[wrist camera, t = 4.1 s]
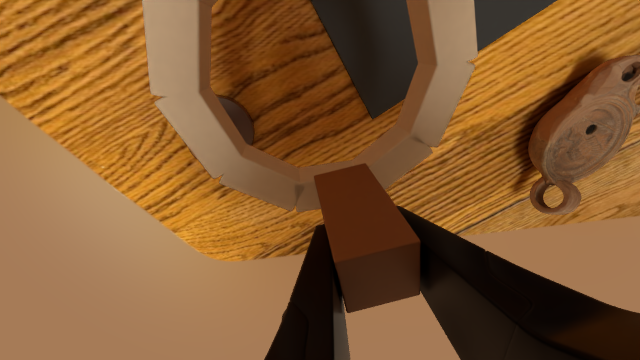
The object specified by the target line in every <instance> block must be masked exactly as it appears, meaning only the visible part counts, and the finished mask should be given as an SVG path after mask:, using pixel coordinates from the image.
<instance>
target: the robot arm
mask: <svg viewBox="0 0 640 360" xmlns="http://www.w3.org/2000/svg"><path fill="white" fill-rule="evenodd" d="M396 207H397V208H398V210H399V211H400V213H401V214H402V215H403V217H404V218H405V220H406V221H407V223H408V224H409V225H410V227H411V228H412V230H413V231H414V232H415V234H416V235H417V237H418V238H419V240H420V291H421V293H422V294H423V296H424V298H425V299H426V301H427V303H428V304H429V306H430V308H431V310H432V311H433V313H434V315H435V317H436V318H437V320H438V322H439V323H440V325H441V327H442V329H443V330H444V332H445V334H446V335H447V337H448V339H449V340H450V342H451V344H452V346H453V347H454V349H455V351H456V352H457V354H458V356H459V358H460V359H461V360H640V313H636V312H632V311H628V310H624V309H621V308H618V307H615V306H612V305H609V304H606V303H604V302H601V301H598V300H596V299H594V298H592V297H589V296H587V295H584V294H582V293H580V292H577V291H575V290H573V289H570V288H568V287H565V286H563V285H561V284H559V283H556V282H554V281H551V280H549V279H547V278H544V277H542V276H540V275H537V274H535V273H533V272H531V271H528V270H526V269H524V268H522V267H520V266H517V265H515V264H513V263H511V262H509V261H507V260H505V259H503V258H501V257H499V256H497V255H495V254H493V253H491V252H489V251H485V249H483V248H481V247H479V246H477V245H475V244H473V243H471V242H469V241H467V240H465V239H463V238H461V237H459V236H457V235H455V234H453V233H451V232H450V231H448V230H446V229H444V228H442V227H440V226H438V225H436V224H434V223H432V222H430V221H428V220H426V219H424V218H422V217H420V216H418V215H416V214H414V213H412V212H410V211H408V210H406V209H404V208H402V207H400V206H396ZM264 360H350V353H349V345H348V338H347V329H346V320H345V313H344V304H343V296H342V292H341V288H340V284H339V280H338V276H337V272H336V268H335V264H334V260H333V256H332V252H331V248H330V244H329V239H328V235H327V231H326V227H325V224H322V225H318V226H316V228H315V230H314V233H313V236H312V239H311V241H310V244H309V247H308V250H307V253H306V256H305V258H304V261H303V264H302V267H301V270H300V272H299V275H298V278H297V281H296V284H295V286H294V289H293V292H292V295H291V298H290V302H289V303H288V306H287V309H286V311H285V314H284V317H283V319H282V322H281V324H280V327H279V330H278V332H277V334H276V336H275V338H274V340H273V342H272V345H271V347H270V349H269V351H268V353H267V355H266V357H265V359H264Z"/></svg>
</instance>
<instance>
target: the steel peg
mask: <svg viewBox="0 0 640 360" xmlns="http://www.w3.org/2000/svg"><path fill="white" fill-rule="evenodd" d="M216 97H217V98H218V100H219V101H220V103H221V105H222V106H223V108H224V109H225V111H226V112H227V114H228V116H229V117H230V119H231V120H232V122H233V123H234V125H235V127H236V128H237V130H238V131H239V133H240V134H241V136H242V138H243V139H244V141H245V142H246V144H248V145H250V146H251V145H252V142H253V138H254V125H253V122H252V119H251V117H250V115H249V114H248V112H247V111H246V110H245V108H244V107H243V106H242V105H240V104H239V103H238V102H236V101H235V100H233V99H231V98H229V97H226V96H222V95H216ZM188 148H189V147H188ZM189 150H190V148H189ZM190 152H191V154H192V155H193V156H194V157H195V158H196V159H197V157H196V156H195V155H194V154H193V152H192V151H191V150H190Z"/></svg>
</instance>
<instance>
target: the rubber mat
mask: <svg viewBox="0 0 640 360" xmlns="http://www.w3.org/2000/svg"><path fill="white" fill-rule="evenodd" d="M555 1H557V0H474V8H475V22H476V37H477V51H479V50H481V49H483V48H484V47H486V46H487V45H489V44H490V43H492V42H493V41H495V40H497V39H498V38H500V37H501V36H503V35H504V34H506V33H507V32H509V31H510V30H512V29H514V28H515V27H517V26H518V25H520V24H521V23H523V22H524V21H526V20H527V19H529V18H531V17H532V16H534V15H535V14H537V13H538V12H540V11H541V10H543V9H544V8H546V7H548V6H549V5H551V4H552V3H554V2H555ZM311 2H312V4H313V6H314V8H315V10H316V12H317V14H318V16H319V18H320V20H321V22H322V23H323V25H324V27H325V29H326V31H327V33H328V35H329V37H330V39H331V41H332V43H333V45H334V47H335V49H336V50H337V52H338V54H339V56H340V58H341V60H342V62H343V64H344V66H345V68H346V70H347V72H348V74H349V75H350V77H351V79H352V81H353V83H354V85H355V87H356V89H357V91H358V93H359V95H360V97H361V99H362V100H363V102H364V104H365V106H366V108H367V110H368V112H369V114H370V116H371V118H372V119H374V118H376V117H377V116H379V115H380V114H382V113H383V112H385V111H387V110H388V109H390V108H391V107H393V106H394V105H396V104H397V103H399V102H401V101H402V100H404V99H405V97H406V95H407V92H408V89H409V87H410V84H411V81H412V78H413V76H414V73H415V70H416V68H417V65H418V60H417V54H416V49H415V44H414V39H413V33H412V28H411V23H410V17H409V12H408V7H407V2H406V0H311Z"/></svg>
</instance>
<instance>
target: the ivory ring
mask: <svg viewBox="0 0 640 360" xmlns="http://www.w3.org/2000/svg"><path fill="white" fill-rule="evenodd" d="M216 2H217V0H142V4H143V15H144V27H145V38H146V49H147V60H148V71H149V82H150V92H151V94H153V95H156V96H162V97H163V98H161V99H159V100H157V101H155V105H156V106H157V107H158V109H159V110H160V111H161V112H162V114H163V115H164V116H165V118H166V119H167V120H168V121H169V123H170V124H171V125H172V127H173V128H174V129H175V130H176V132H177V133H178V134H179V136H180V137H181V138H182V139H183V141H184V142H185V143H186V145H187V146H188V147H189V148H190V150H191V151H192V152H193V154H194V155H195V156H196V157H197V159H198V160H199V161H200V163H201V164H202V165H203V166H204V168H205V169H206V170H207V172H208V173H209V174H210V175H211V177H212V178H213V179H215V178H217V177H220V176H222V177H221V179H220V181H219V183H220V184H222V185H224V186H227V187H229V188H232V189H235V190H237V191H240V192H242V193H245V194H248V195H250V196H253V197H255V198H258V199H260V200H263V201H266V202H268V203H271V204H273V205H276V206H278V207H281V208H284V209H286V210H289V211H292V210H293V208H294V207H295V205H296V210H297V212H302V211H308V210H315V209H321V210H322V214H323V218H324V223H325V227H326V231H327V235H328V239H329V244H330V248H331V252H332V256H333V260H334V264H335V268H336V272H337V276H338V280H339V284H340V288H341V292H342V296H343V300H344V304H345V307H346V311H347V313H351V312H355V311H359V310H362V309H366V308H370V307H374V306H378V305H382V304H385V303H389V302H393V301H397V300H401V299H405V298H409V297H413V296H416V295H419V294H420V240H419V238H418V237H417V235H416V234H415V232H414V231H413V230H412V228H411V227H410V225H409V224H408V223H407V221H406V220H405V218H404V217H403V215H402V214H401V213H400V211H399V210H398V208H397V207H396V206H395V204H394V203H393V201H392V200H391V198H390V197H389V196H388V194H387V193H386V191H385V189H386V188H388V187H389V186H390V185H391V184H393V183H394V182H395V181H397V180H398V179H399V178H401V177H402V176H403V175H405V174H406V173H407V172H408V171H410V170H411V169H412V168H414V167H415V166H416V165H418V164H419V163H420V162H422V161H423V160H424V159H426V158H427V157H428V156H429V155H431V154H432V153H433V152H432V150H431V148H430V147H429V146H431V147H438V145H439V143H440V141H441V139H442V136H443V134H444V132H445V130H446V128H447V126H448V124H449V122H450V119H451V117H452V115H453V113H454V111H455V109H456V107H457V104H458V102H459V100H460V98H461V96H462V94H463V92H464V90H465V87H466V85H467V83H468V81H469V79H470V77H471V75H472V72H473V70H474V68H475V65H474V64H473V63H469V62H468V61H470V60H472V59H474V58H476V57H477V56H478V51H477V37H476V22H475V8H474V0H406V2H407V7H408V12H409V17H410V23H411V28H412V33H413V39H414V44H415V49H416V54H417V60H418V65H417V68H416V70H415V73H414V76H413V78H412V81H411V84H410V87H409V89H408V92H407V95H406V97H405V100H404V103H403V106H402V108H401V111H400V114H399V116H398V119H397V122H396V124H395V125H394V126H393V127H392V128H390V129H389V130H388V131H387V132H385V133H384V134H383V135H382V136H381V137H379V138H378V139H377V140H376V141H375V142H373V143H372V144H371V145H370V146H369V147H367V148H366V149H365V150H364V151H363V152H361V153H360V154H359V155H358V156H357V157H355V158H354V159H353V160H350V161H343V162H336V163H329V164H322V165H315V166H308V167H301V168H298V167H295V166H293V165H291V164H289V163H287V162H285V161H282V160H280V159H278V158H276V157H274V156H272V155H270V154H267V153H265V152H263V151H261V150H259V149H257V148H254V147H252V146H250V145H248V144H246V142H245V141H244V139H243V138H242V136H241V134H240V133H239V131H238V130H237V128H236V127H235V125H234V123H233V122H232V120H231V119H230V117H229V116H228V114H227V112H226V111H225V109H224V108H223V106H222V105H221V103H220V101H219V100H218V98H217V97H216V95H215V93H214V92H213V90H212V89H211V87H210V70H211V11H212V7H213V5H214V4H215V3H216Z"/></svg>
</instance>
